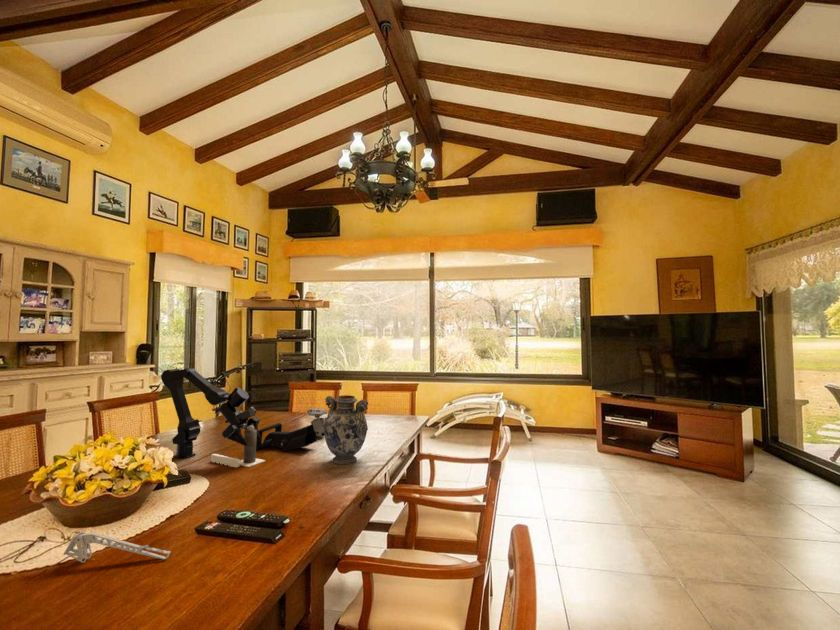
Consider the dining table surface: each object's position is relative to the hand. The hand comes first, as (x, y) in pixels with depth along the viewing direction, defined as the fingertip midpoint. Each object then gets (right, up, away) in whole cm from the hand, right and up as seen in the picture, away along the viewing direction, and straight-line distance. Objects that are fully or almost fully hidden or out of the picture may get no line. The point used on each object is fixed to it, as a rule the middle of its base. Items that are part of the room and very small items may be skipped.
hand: (253, 442), depth 172 cm
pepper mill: (-2, -8, 0) cm, 8 cm away
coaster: (-2, -9, 0) cm, 9 cm away
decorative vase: (+38, -10, +5) cm, 39 cm away
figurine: (+15, -11, +44) cm, 48 cm away
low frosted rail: (-11, -8, -3) cm, 14 cm away
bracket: (-2, -6, -74) cm, 74 cm away
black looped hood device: (+7, -10, +22) cm, 25 cm away
